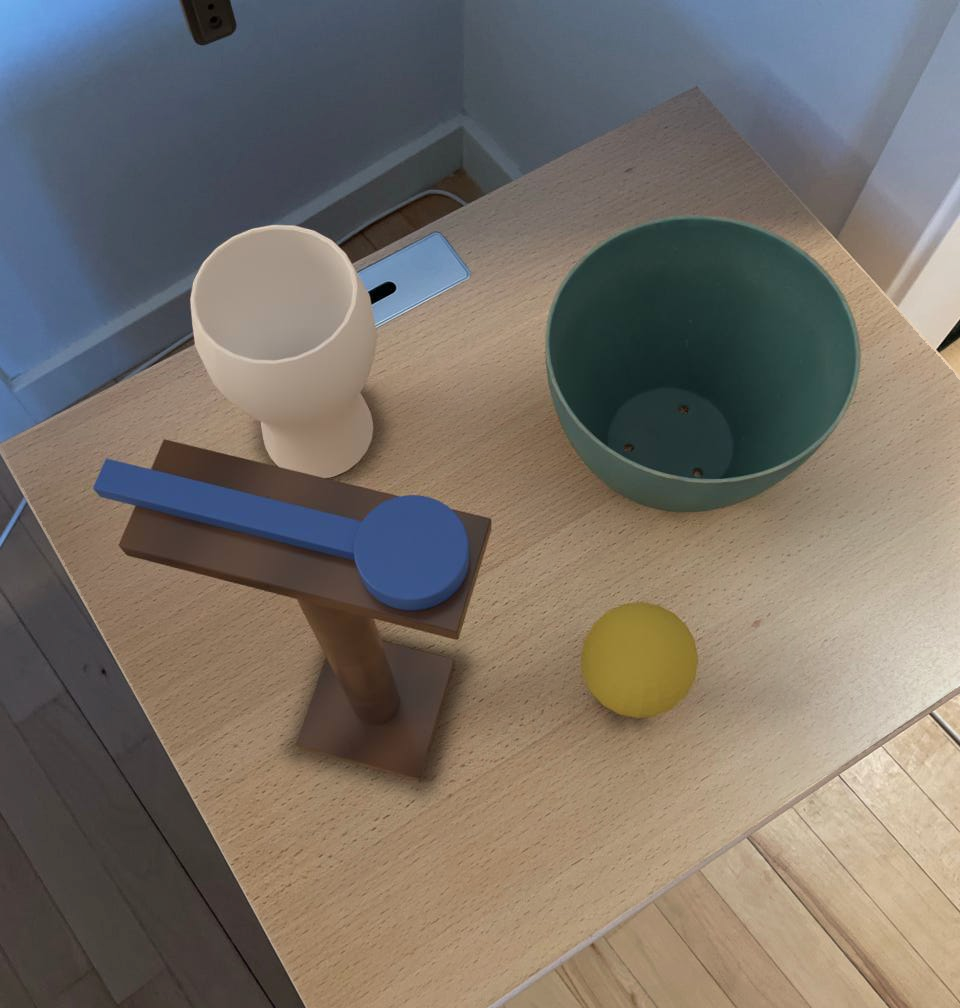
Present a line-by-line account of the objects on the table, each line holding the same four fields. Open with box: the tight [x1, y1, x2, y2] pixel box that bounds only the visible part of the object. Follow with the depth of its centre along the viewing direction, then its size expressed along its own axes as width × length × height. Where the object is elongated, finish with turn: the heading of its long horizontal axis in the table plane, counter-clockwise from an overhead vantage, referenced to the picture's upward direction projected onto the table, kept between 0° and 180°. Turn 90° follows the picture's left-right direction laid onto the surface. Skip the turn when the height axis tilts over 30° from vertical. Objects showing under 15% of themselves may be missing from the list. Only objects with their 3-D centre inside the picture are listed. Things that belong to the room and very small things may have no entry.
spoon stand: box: [118, 438, 492, 782], centre depth 53 cm, size 14×8×26 cm, turn 75°
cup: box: [189, 224, 378, 479], centre depth 64 cm, size 11×11×15 cm
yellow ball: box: [580, 601, 699, 719], centre depth 60 cm, size 7×7×10 cm
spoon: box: [92, 458, 470, 610], centre depth 40 cm, size 15×4×1 cm, turn 75°
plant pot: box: [544, 214, 862, 514], centre depth 65 cm, size 18×18×12 cm
